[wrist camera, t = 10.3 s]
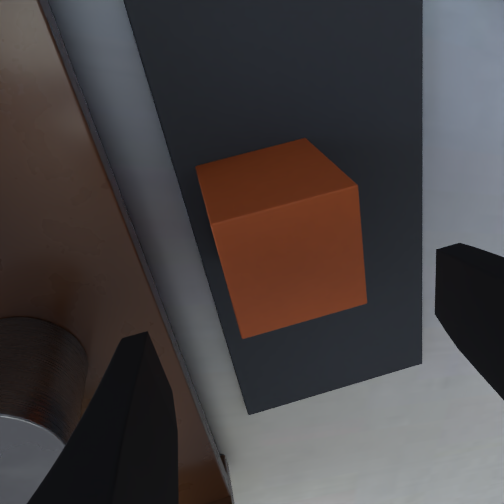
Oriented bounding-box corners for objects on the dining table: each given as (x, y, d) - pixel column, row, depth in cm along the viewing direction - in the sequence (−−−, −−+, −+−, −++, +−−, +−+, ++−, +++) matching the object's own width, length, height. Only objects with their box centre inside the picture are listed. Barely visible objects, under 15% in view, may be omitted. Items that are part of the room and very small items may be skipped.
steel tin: (-6, 420, 18) (-48, 533, 14) (-69, 336, 16) (-139, 444, 12) (105, 388, 19) (93, 490, 15) (59, 301, 16) (31, 395, 12)
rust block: (220, 261, 19) (242, 340, 15) (194, 165, 17) (209, 224, 13) (318, 235, 20) (368, 303, 15) (305, 137, 17) (358, 184, 13)
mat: (247, 409, 25) (248, 415, 24) (123, -2, 14) (122, -2, 14) (418, 358, 25) (422, 363, 25) (417, -69, 15) (423, -71, 15)
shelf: (42, 520, 26) (20, 629, 21) (-362, 22, 12) (-646, 35, 8) (228, 464, 27) (243, 557, 22) (33, -63, 13) (-26, -95, 9)
